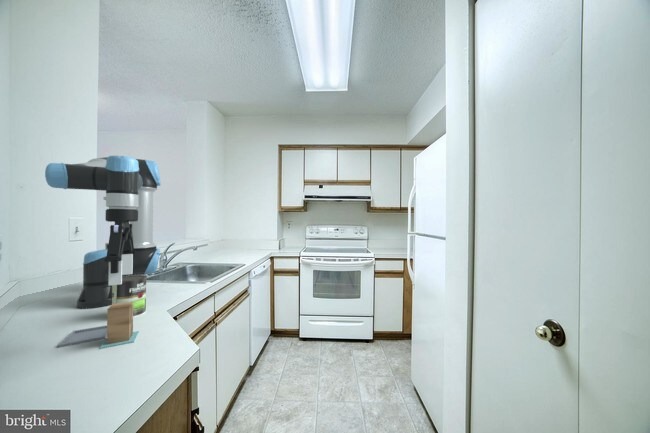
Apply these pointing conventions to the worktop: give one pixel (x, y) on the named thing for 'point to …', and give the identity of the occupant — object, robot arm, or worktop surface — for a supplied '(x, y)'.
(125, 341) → the teal pad
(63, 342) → the gray tray
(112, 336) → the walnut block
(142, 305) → the coffee can
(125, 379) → the worktop surface
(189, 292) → the worktop surface
